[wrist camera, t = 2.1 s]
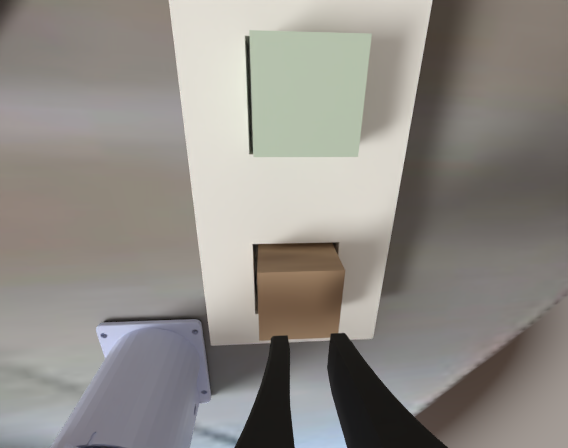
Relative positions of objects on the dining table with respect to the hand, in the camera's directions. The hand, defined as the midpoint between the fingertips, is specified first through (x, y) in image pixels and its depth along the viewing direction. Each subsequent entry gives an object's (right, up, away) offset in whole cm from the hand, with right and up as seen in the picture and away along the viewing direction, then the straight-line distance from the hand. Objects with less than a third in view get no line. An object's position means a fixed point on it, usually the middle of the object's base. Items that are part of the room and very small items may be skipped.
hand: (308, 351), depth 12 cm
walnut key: (0, +2, +6) cm, 6 cm away
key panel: (-1, +8, +7) cm, 11 cm away
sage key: (0, +12, +2) cm, 12 cm away
